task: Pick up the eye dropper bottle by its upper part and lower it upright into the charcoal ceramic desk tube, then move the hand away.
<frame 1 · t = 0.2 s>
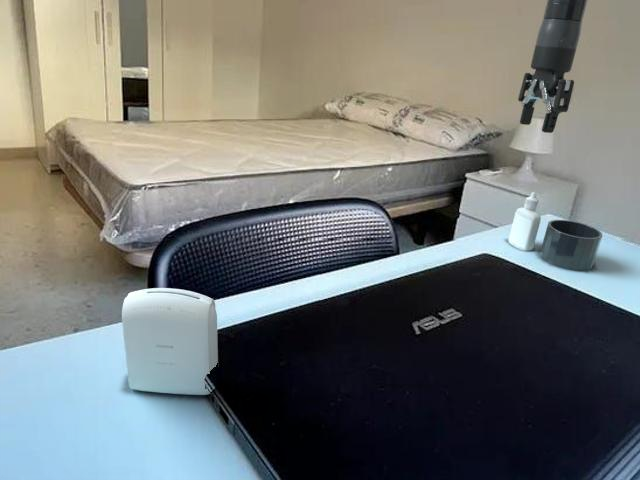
hand: (535, 128, 104), 24 cm above the table, tool pointing down, fingers open, 8 cm apart
desk tube: (565, 260, 101), on the table
photo printer: (173, 385, 58), on the table
eye dropper bottle: (519, 247, 106), on the table
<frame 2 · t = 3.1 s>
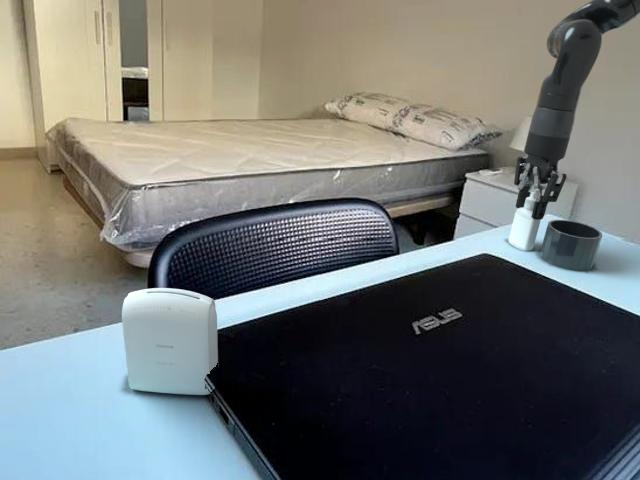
hand: (528, 213, 103), 8 cm above the table, tool pointing down, fingers closed on eye dropper bottle, 5 cm apart
eye dropper bottle: (519, 247, 106), on the table, touching gripper
everything else where it was.
when the fingers open (8 cm above the table, at t = 10.0 s): eye dropper bottle stays where it is, resting on desk tube.
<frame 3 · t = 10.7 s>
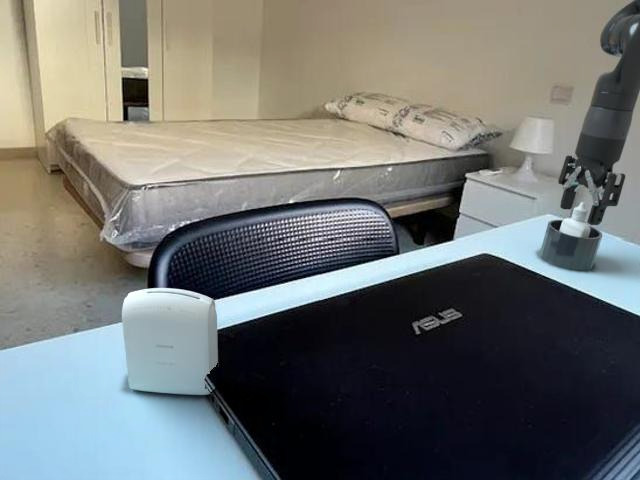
hand: (578, 216, 97), 10 cm above the table, tool pointing down, fingers open, 8 cm apart
eye dropper bottle: (565, 259, 101), resting on desk tube
everything else where it was.
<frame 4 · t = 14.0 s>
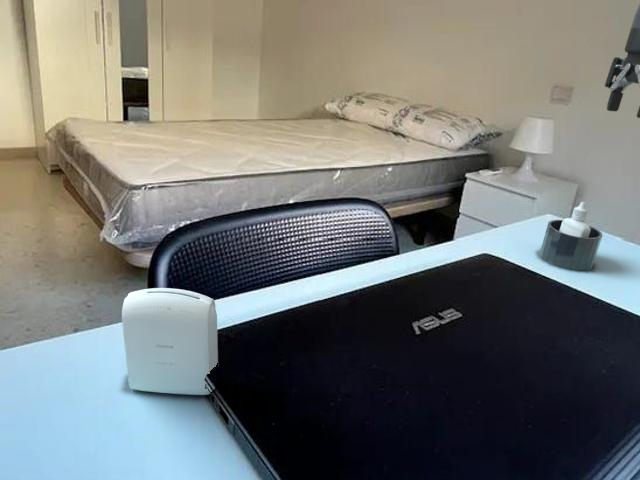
hand: (626, 114, 101), 28 cm above the table, tool pointing down, fingers open, 8 cm apart
nothing on the table moved.
at the end: eye dropper bottle 0.1 cm off-centre in the desk tube, point 0.3 cm above the desk tube's base; eye dropper bottle tilted 0°; the gripper is holding nothing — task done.
